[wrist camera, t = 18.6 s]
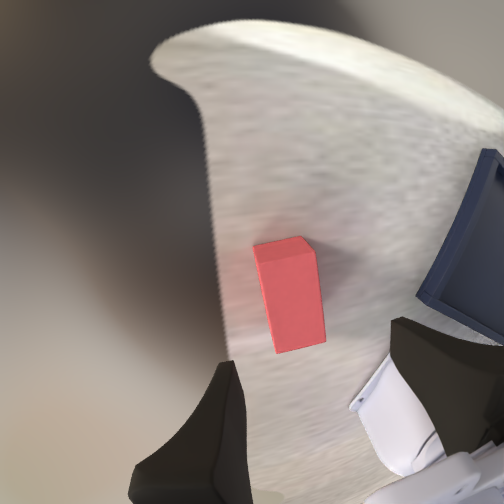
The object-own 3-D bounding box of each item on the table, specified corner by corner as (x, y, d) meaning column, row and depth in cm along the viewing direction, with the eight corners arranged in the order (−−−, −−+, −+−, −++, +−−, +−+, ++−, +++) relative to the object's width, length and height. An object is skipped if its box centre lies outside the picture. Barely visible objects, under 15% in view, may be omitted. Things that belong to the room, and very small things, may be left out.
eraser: (313, 315, 22) (326, 342, 18) (269, 326, 22) (276, 354, 18) (301, 235, 20) (315, 250, 16) (252, 245, 20) (257, 263, 16)
